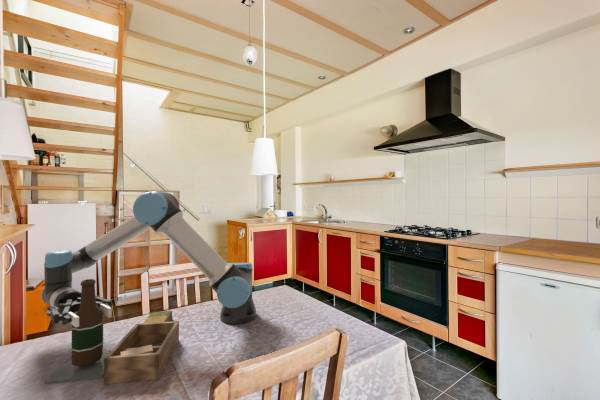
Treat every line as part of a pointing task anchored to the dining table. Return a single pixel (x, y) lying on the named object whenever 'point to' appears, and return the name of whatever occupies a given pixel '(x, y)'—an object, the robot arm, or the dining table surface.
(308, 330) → the dining table surface
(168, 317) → the carton
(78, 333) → the beer bottle
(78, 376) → the plate
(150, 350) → the offcut upper
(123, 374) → the wooden box
